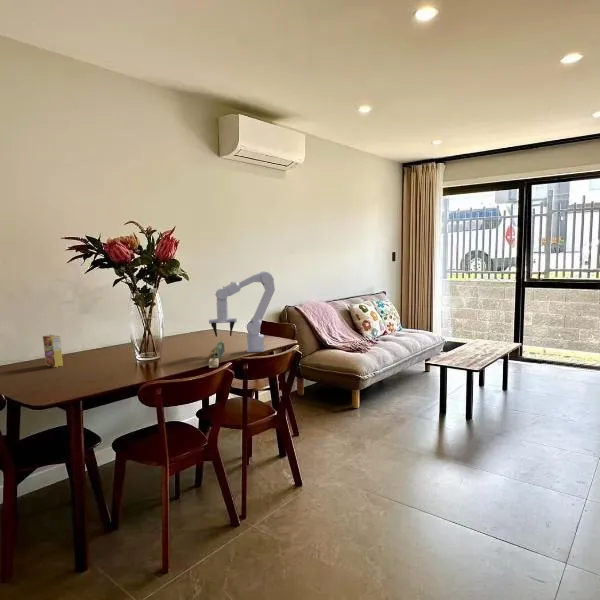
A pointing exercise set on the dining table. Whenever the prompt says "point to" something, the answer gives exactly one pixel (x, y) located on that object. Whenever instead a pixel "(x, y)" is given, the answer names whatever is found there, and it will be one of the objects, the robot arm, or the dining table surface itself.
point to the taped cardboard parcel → (213, 362)
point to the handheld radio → (219, 350)
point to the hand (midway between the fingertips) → (223, 336)
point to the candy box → (52, 350)
